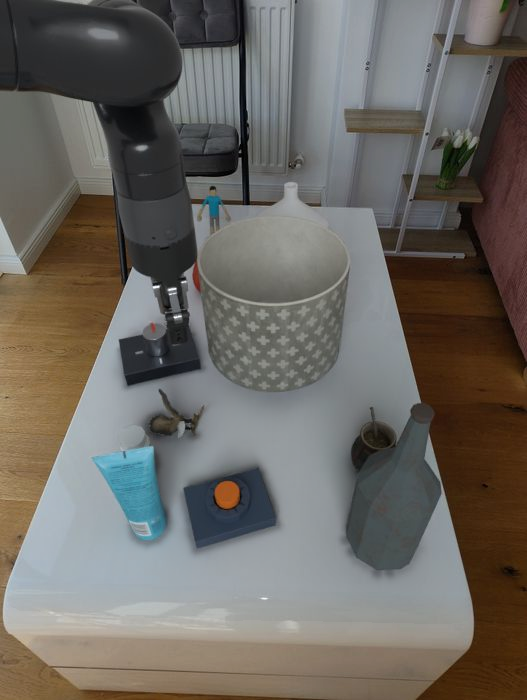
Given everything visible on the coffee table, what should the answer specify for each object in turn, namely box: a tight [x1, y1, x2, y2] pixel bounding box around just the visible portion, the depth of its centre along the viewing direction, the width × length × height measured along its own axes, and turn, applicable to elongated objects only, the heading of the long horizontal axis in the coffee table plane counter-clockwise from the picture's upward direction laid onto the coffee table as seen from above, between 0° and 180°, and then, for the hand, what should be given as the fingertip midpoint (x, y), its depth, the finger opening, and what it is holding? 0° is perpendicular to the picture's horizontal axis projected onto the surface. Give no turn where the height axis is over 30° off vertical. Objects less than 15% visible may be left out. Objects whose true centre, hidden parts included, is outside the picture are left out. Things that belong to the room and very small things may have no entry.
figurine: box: [196, 185, 232, 237], centre depth 125 cm, size 8×3×15 cm, turn 94°
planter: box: [197, 216, 351, 393], centre depth 93 cm, size 25×25×24 cm
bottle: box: [345, 402, 443, 571], centre depth 65 cm, size 10×10×30 cm
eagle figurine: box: [148, 388, 206, 439], centre depth 88 cm, size 8×7×9 cm
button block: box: [182, 467, 277, 549], centre depth 77 cm, size 12×9×4 cm
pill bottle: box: [118, 424, 156, 463], centre depth 82 cm, size 5×5×8 cm
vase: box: [254, 181, 331, 230], centre depth 118 cm, size 18×18×19 cm
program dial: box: [141, 322, 169, 356], centre depth 98 cm, size 4×4×5 cm
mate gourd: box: [350, 406, 398, 472], centre depth 81 cm, size 7×8×10 cm
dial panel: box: [118, 326, 201, 386], centre depth 100 cm, size 14×10×3 cm
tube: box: [91, 445, 167, 541], centre depth 70 cm, size 7×5×19 cm, turn 107°
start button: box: [215, 481, 240, 509], centre depth 76 cm, size 4×4×2 cm
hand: (179, 340), depth 67 cm, fingers closed
